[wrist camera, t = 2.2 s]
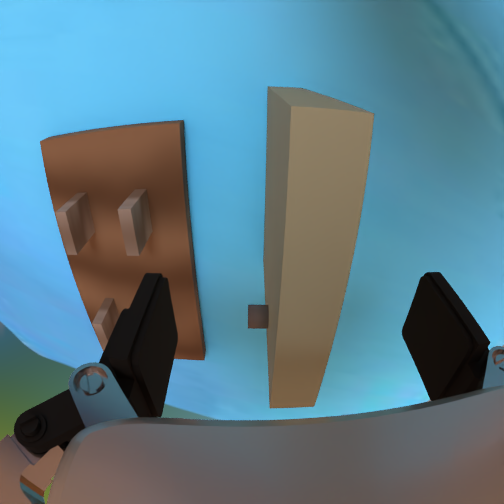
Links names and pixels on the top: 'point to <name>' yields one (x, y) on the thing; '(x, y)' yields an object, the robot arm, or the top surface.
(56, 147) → the hinge base
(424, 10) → the top surface
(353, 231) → the cabinet door
